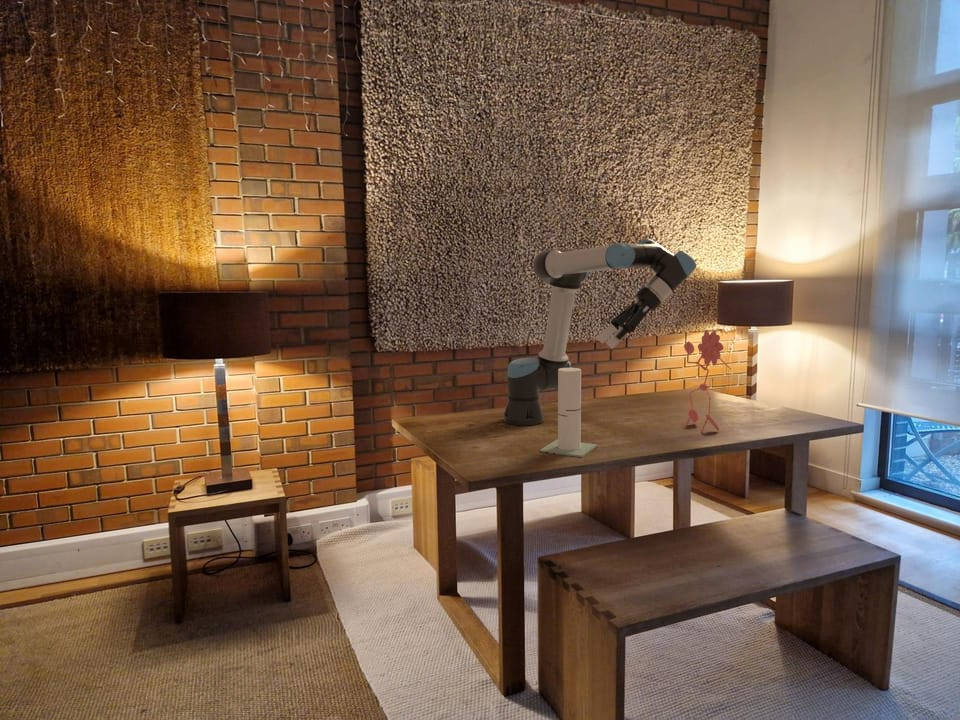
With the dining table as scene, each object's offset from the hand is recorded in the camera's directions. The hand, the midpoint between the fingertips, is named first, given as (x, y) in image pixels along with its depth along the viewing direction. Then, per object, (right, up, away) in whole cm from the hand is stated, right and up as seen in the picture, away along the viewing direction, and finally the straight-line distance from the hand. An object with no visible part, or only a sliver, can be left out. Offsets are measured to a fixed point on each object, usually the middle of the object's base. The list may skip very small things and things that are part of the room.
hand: (603, 343), depth 199 cm
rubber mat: (-10, -33, +5) cm, 35 cm away
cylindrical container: (-10, -33, +5) cm, 35 cm away
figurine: (+44, -29, +29) cm, 60 cm away
